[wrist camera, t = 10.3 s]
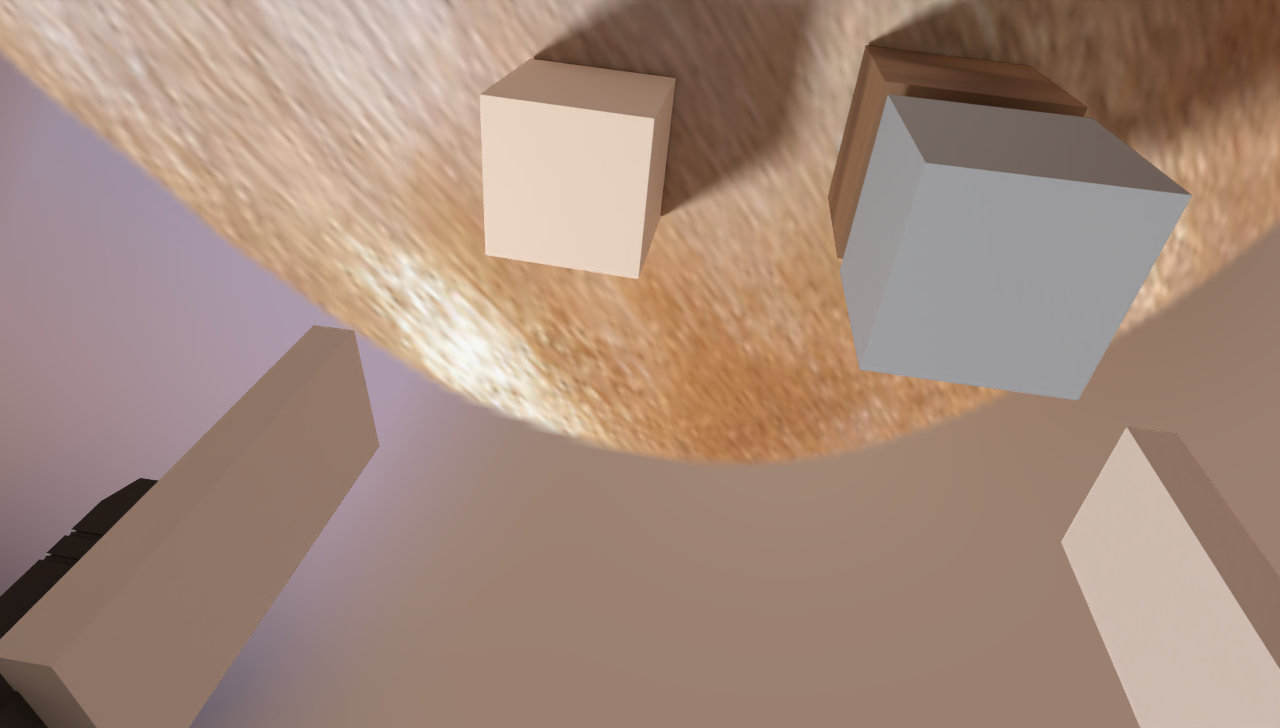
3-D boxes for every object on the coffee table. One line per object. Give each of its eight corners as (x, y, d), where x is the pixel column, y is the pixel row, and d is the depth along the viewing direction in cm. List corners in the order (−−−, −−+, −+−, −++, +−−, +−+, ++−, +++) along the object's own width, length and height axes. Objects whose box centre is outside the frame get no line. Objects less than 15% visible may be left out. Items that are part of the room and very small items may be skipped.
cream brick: (529, 198, 33) (485, 254, 28) (530, 58, 29) (479, 94, 24) (659, 218, 32) (638, 279, 27) (675, 78, 29) (654, 118, 24)
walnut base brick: (828, 197, 30) (838, 263, 25) (865, 45, 27) (887, 85, 22) (972, 217, 30) (1014, 290, 25) (1030, 65, 26) (1093, 111, 21)
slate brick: (840, 270, 25) (859, 369, 20) (887, 94, 22) (925, 162, 17) (1014, 293, 25) (1078, 400, 20) (1092, 118, 21) (1191, 195, 16)
